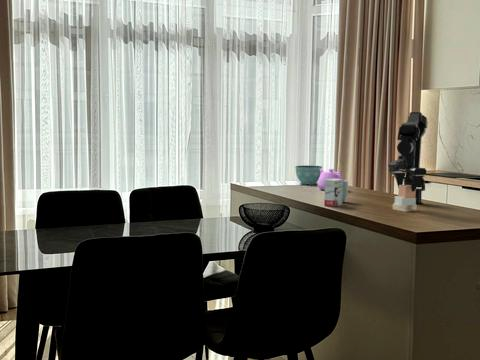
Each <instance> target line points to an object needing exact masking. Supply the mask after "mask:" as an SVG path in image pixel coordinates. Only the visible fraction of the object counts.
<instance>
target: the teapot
mask: <svg viewBox="0 0 480 360" xmlns="http://www.w3.org/2000/svg"><path fill="white" fill-rule="evenodd" d="M320 172H321V174H320V177H319V180H318V181H317V187H318V188H319V190H322V189H323V190H322V191H325V179H343V180H344V178H343V176H342V174H341V172H339V171H335V169H334V168H329V169H328V171H324V170H323V168H322V169H320Z"/></svg>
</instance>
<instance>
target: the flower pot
mask: <svg viewBox="0 0 480 360" xmlns="http://www.w3.org/2000/svg"><path fill="white" fill-rule="evenodd" d="M294 168H295V174H296V177H297V179H298V181H299V182H300V185H305V184H309V186H311V185H316V184H318V180H319V177H320V174H321V172H320V169H322V170H323V166H322V165H296V166H295V167H294Z"/></svg>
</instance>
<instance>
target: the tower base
mask: <svg viewBox="0 0 480 360" xmlns="http://www.w3.org/2000/svg"><path fill="white" fill-rule="evenodd" d="M417 207H418V204H416V205H399V204H396V203H395V202H393V203H392V210H394V211H398V212H399V211H400V212H413V211H414V212H415V211H417Z"/></svg>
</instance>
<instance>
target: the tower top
mask: <svg viewBox="0 0 480 360" xmlns="http://www.w3.org/2000/svg"><path fill="white" fill-rule="evenodd" d="M394 203H396V204H399V205H417V204H416V198H402V197H398V195H397V196H395V195H394Z"/></svg>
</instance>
